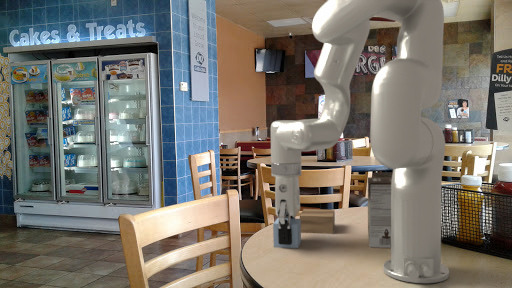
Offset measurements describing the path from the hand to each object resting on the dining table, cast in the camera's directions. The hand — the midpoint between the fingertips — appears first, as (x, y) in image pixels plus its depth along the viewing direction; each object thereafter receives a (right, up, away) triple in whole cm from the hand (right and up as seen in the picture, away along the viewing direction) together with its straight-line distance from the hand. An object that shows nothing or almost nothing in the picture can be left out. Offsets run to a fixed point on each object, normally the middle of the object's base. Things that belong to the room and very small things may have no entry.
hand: (287, 239), depth 114 cm
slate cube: (0, -1, 0) cm, 1 cm away
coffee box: (+24, -1, 0) cm, 24 cm away
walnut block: (+10, 0, +14) cm, 17 cm away
